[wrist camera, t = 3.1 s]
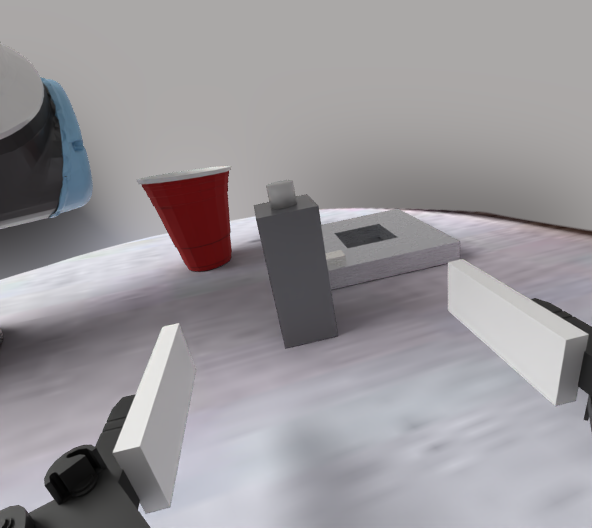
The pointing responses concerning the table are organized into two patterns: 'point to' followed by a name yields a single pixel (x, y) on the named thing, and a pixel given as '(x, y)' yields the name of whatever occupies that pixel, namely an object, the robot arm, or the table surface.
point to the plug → (296, 264)
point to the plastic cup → (194, 214)
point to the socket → (383, 247)
